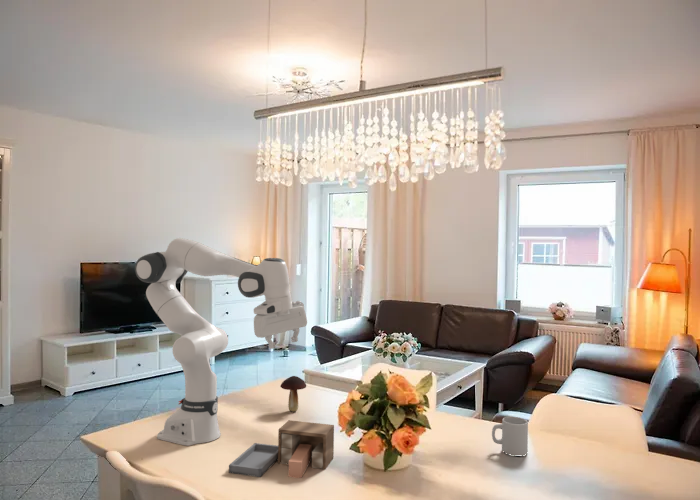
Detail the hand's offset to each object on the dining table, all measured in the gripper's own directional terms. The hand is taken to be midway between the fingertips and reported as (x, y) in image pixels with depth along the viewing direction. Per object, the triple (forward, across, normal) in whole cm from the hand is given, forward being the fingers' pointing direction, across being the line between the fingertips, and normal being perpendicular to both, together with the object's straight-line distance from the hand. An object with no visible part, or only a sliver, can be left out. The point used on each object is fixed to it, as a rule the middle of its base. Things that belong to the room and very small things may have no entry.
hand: (283, 344), depth 175 cm
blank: (+37, +8, +12) cm, 40 cm away
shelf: (+37, +3, +9) cm, 38 cm away
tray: (+35, +16, 0) cm, 38 cm away
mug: (+46, -53, +50) cm, 87 cm away
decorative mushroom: (+37, -25, -34) cm, 56 cm away
